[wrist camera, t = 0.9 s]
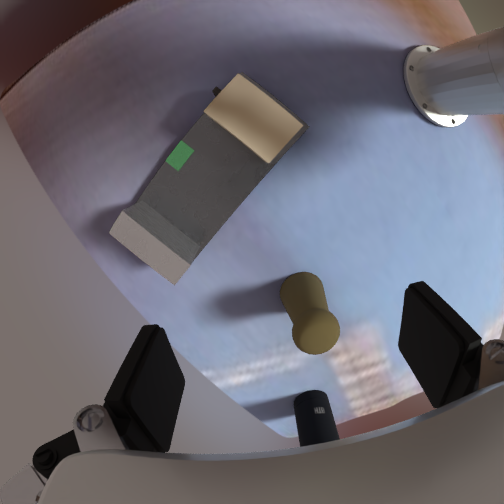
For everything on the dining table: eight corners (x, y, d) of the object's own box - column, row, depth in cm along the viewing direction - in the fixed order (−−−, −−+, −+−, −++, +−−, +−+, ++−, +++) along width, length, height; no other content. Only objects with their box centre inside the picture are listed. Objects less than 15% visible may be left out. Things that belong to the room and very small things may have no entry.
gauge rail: (242, 75, 28) (240, 54, 21) (306, 127, 31) (323, 121, 23) (131, 214, 34) (105, 230, 27) (191, 261, 36) (178, 288, 29)
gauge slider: (232, 80, 27) (230, 67, 22) (294, 129, 29) (303, 125, 24) (203, 112, 28) (195, 105, 23) (265, 162, 30) (268, 163, 25)
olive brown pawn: (270, 295, 38) (278, 346, 27) (300, 263, 36) (320, 306, 26) (302, 318, 39) (318, 370, 29) (332, 288, 38) (358, 335, 27)
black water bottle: (301, 415, 47) (324, 554, 19) (287, 398, 45) (308, 554, 17) (332, 402, 46) (369, 542, 18) (320, 385, 44) (360, 542, 16)
